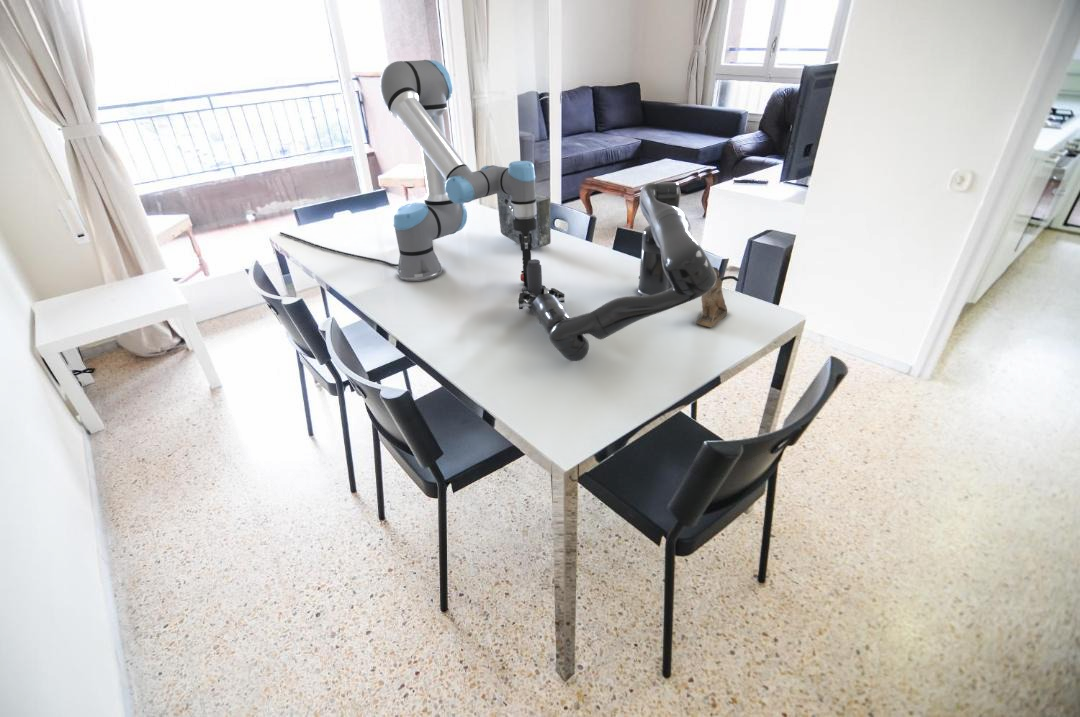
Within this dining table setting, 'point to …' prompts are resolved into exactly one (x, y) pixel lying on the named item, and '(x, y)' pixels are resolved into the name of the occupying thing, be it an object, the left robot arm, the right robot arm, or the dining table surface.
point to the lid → (522, 277)
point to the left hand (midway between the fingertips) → (528, 287)
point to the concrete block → (542, 232)
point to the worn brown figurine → (713, 305)
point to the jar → (534, 277)
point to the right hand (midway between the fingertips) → (532, 288)
